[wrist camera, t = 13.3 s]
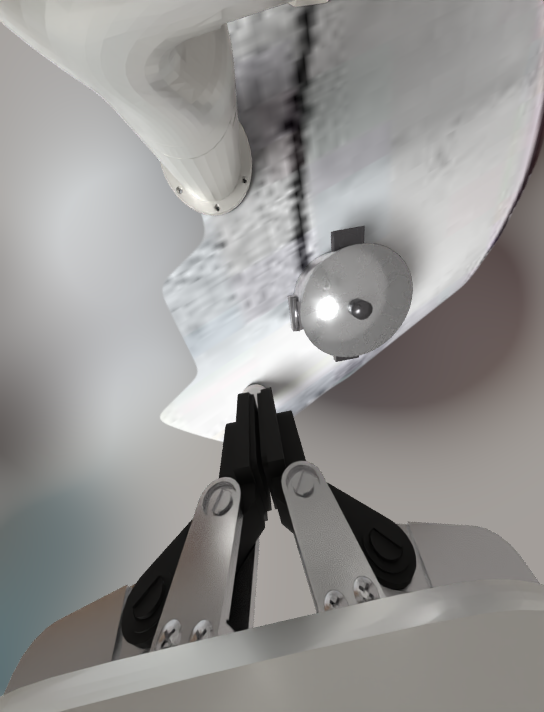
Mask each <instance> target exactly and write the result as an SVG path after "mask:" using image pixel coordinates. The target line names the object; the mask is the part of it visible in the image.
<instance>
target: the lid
mask: <svg viewBox="0 0 544 712" xmlns="http://www.w3.org/2000/svg"><path fill="white" fill-rule="evenodd" d="M412 292H413V287H412V279H411V274H410V272H409V269H408V267H407V265H406V263H405V262H404V260H403V259H402V258H401V257H400V256H399V255H398V254H397V253H396V252H394V251H393V250H391V249H390V248H387V247H385V246H383V245H378V244H371V243H364V244H355V245H351V246H347V247H344V248H342V249H339V250H337V251H336V252H334V253H332V254H331V255H329V256H328V257H327V258H325V259H324V260H323V261H322V262H321V263H320V264H319V265H318V266H317V267H316V268H315V269H314V271H313V272H312V273H311V275H310V276H309V278H308V280H307V282H306V284H305V286H304V289H303V292H302V295H301V299H300V300H299V301H297V298H292V300H293V309H294V318H295V327H296V331H300V330H302V329H304V331H305V333H306V335H307V337H308V338H309V340H310V341H311V342H312V343H313V344H314V345H315V346H316V347H317V348H318V349H320V350H321V351H323V352H325V353H327V354H330V355H333V356H338V357H354V356H359V355H362V354H365V353H368V352H370V351H373V350H375V349H376V348H378V347H380V346H381V345H382V344H384V343H385V342H386V341H388V340H389V339H390V338H391V337H392V336H393V335H394V334H395V333H396V331H397V330H398V329H399V327H400V326H401V325H402V323H403V321H404V320H405V318H406V315H407V313H408V311H409V308H410V305H411V300H412Z"/></svg>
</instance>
